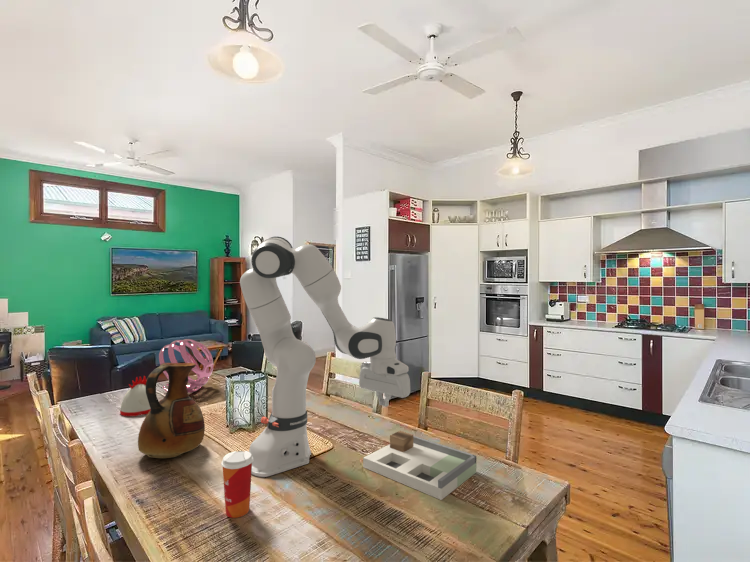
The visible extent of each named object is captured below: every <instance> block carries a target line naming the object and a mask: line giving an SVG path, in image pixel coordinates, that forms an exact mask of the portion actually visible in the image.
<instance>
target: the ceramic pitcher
mask: <svg viewBox="0 0 750 562" xmlns="http://www.w3.org/2000/svg"><path fill="white" fill-rule="evenodd" d="M195 366H196V364H195V363H185V362H178V363H171V362H165V363H162V364H161V365H160V364H159V366H157V367H156V368H154V369H153V370H152V371H151V372H150V373H149V374H148V376H147V378H146V379H147V381H146V395H147V399H148V402H149V405H150V408H151V410H150V411H149V413H148V414H146V415H145V417H144V419H143V421H142V424H141V426H140V428H139V431H138V437H137V446H138V447H137V448H138V451H139V452H140V453H142V454H143V455H146V456H148V457H149V458H153V459H154V458H155V459H170V458H171V459H172V458H176V457H179V456H181V455H182V454H184V453H188V452H190V451H193V450H194V449H196V448H198V446H200V445H201V443H202V442H203V441H204V437H205V430H206V429H205V428H206V427H205V425H206V424H205V419H204V415H203V412H202V409H201V407H200V406H199V404H198V402H196V401H195V400H194V399H193V398H192V397H190V395H189V393H188V392H187V385H189V383H188V376H189V373H190V372H192V369H193V368H194V367H195ZM163 371H166V372H167V373H168V377H169V380H168V384H169V385H168V386H167V392H166V393H165V395H164V397H163V398H162V399H160V400H159V399H158V396H157V382H158V379H159V377H160V376H161V374H162V373H164V372H163Z"/></svg>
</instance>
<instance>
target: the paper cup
mask: <svg viewBox="0 0 750 562" xmlns="http://www.w3.org/2000/svg"><path fill="white" fill-rule="evenodd" d="M252 462H253V457H252V455H251V453H250V452H249V450H244V451H243V450H240V451H239V450H238V451H236V450H235V451H232V452H229V453H226V454H225V455H224V456H223V457H222V461H221V463H220V465H221V467H222V475H223V476H222V479H223V491H224V492H223V493H224V495H223V496H224V506H225V515H226V516H227V517H228V518H230V519H237V518H238V519H239V518H241V517H244V516H246V515H247V514H248V513H249V511H250V502H251V492H252V491H251V490H252V489H251V488H252V487H251V485H252V474H251V472H252Z"/></svg>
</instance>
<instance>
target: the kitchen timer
mask: <svg viewBox="0 0 750 562" xmlns="http://www.w3.org/2000/svg"><path fill="white" fill-rule="evenodd" d="M131 381H132V385H131V384H130V383H128V386H129V388H128V390H127V391H126V393H125V394H124V396H123V399H122V401H121V404H120V407H119V408H120V409H119V413H120V415H121V416H124V417H137V416H143V415H147V414H148V413H149V411H150V410H151V408H150V405H149V402H148V399H147V395H146V381H147V378H146V376H145V375H143V378H142V376H136V377H135V381H134V379H133V380H131Z"/></svg>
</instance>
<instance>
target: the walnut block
mask: <svg viewBox="0 0 750 562" xmlns="http://www.w3.org/2000/svg"><path fill="white" fill-rule="evenodd" d="M413 436H414V434H413V433H409V432H406V431H403V430H398V431H396V432H395V433H392V434H390V435H389V444H390V448H392V449H395V450H398V451H401V452H405V451H407V450H409V449H411V448H412V447H413Z"/></svg>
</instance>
